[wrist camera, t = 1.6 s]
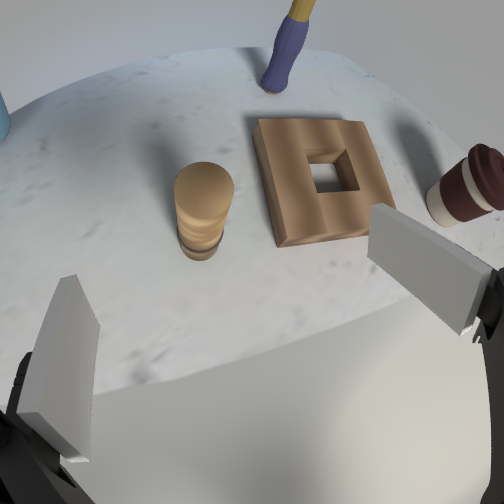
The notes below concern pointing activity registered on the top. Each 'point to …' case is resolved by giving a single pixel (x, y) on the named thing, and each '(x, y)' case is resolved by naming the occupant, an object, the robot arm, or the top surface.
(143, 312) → the top surface
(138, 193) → the top surface
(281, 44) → the rubber mallet
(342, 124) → the walnut socket block
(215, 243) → the oak peg
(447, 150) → the top surface
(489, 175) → the coffee cup
